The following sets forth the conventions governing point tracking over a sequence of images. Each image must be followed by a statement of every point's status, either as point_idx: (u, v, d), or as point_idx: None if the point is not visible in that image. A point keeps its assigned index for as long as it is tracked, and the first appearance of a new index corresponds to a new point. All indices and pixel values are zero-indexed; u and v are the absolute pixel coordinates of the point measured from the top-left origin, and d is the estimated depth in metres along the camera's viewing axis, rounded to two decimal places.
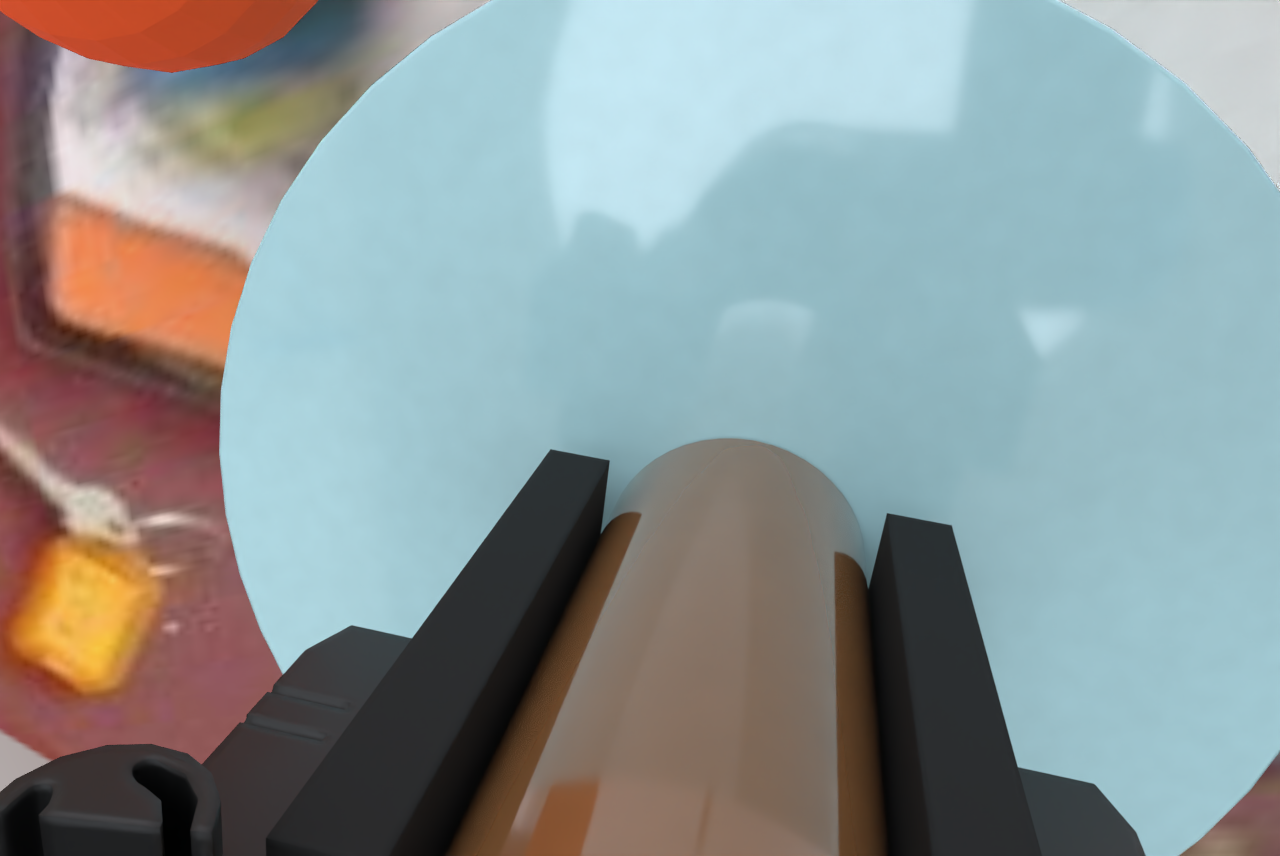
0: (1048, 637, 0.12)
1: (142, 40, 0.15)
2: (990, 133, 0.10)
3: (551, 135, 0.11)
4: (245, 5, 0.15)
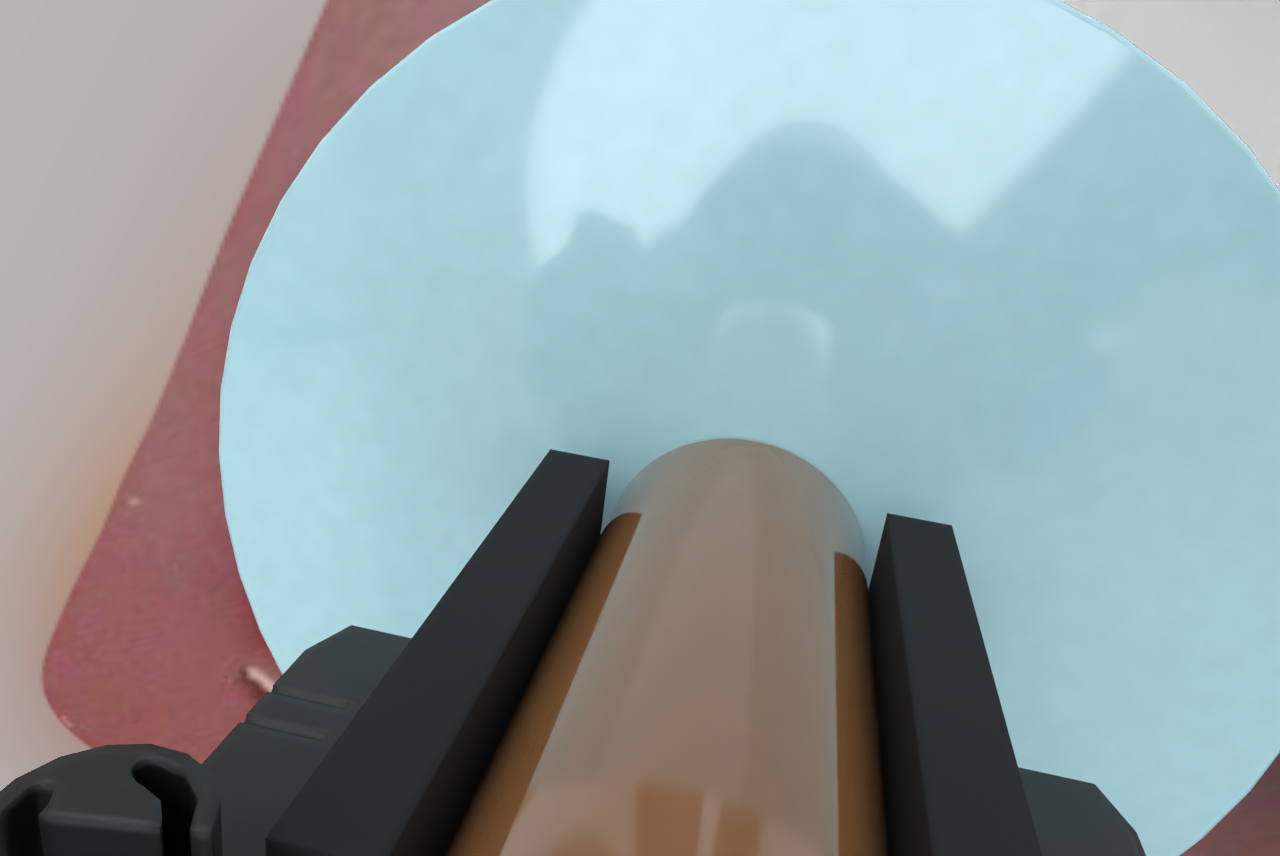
0: (1048, 637, 0.12)
1: None
2: (990, 133, 0.10)
3: (551, 135, 0.11)
4: None
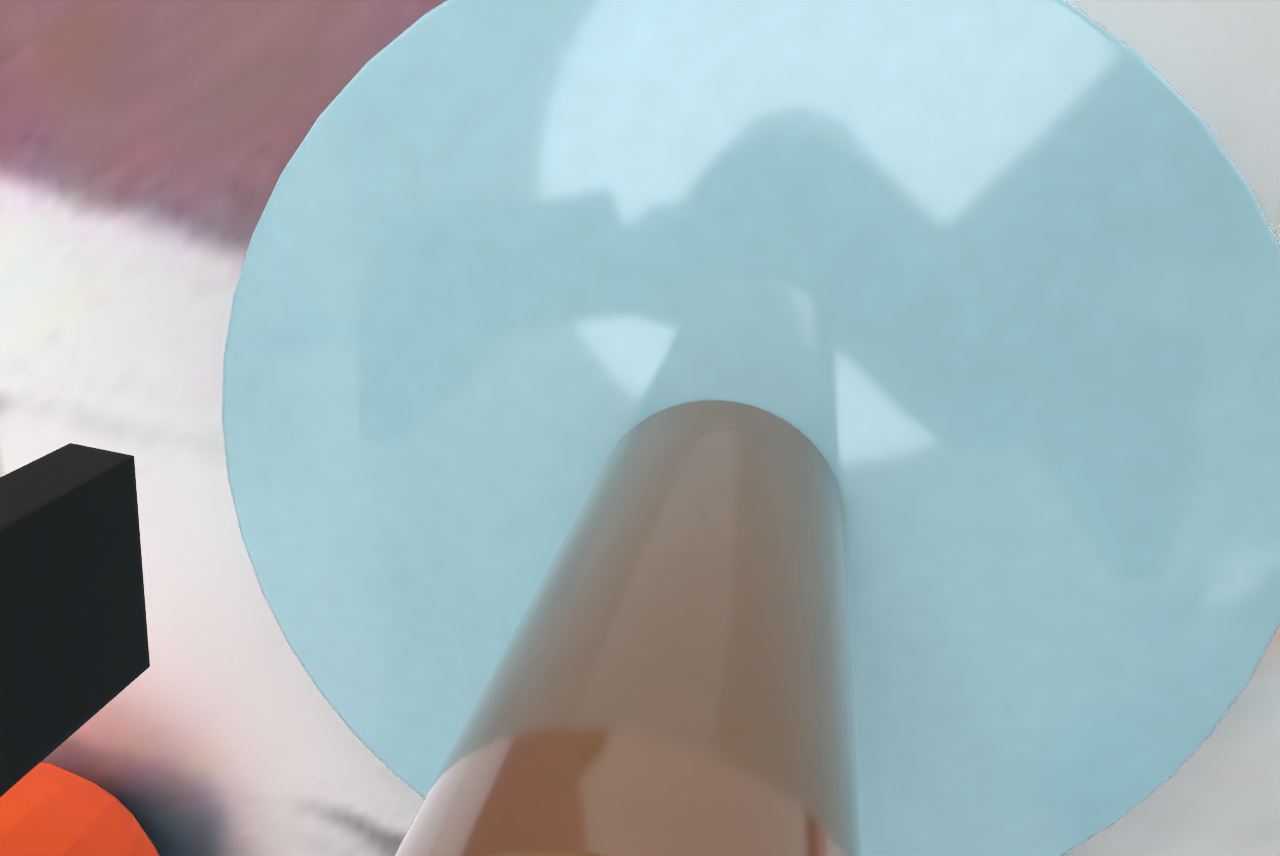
0: (1017, 589, 0.13)
1: None
2: (957, 104, 0.11)
3: (540, 108, 0.12)
4: None
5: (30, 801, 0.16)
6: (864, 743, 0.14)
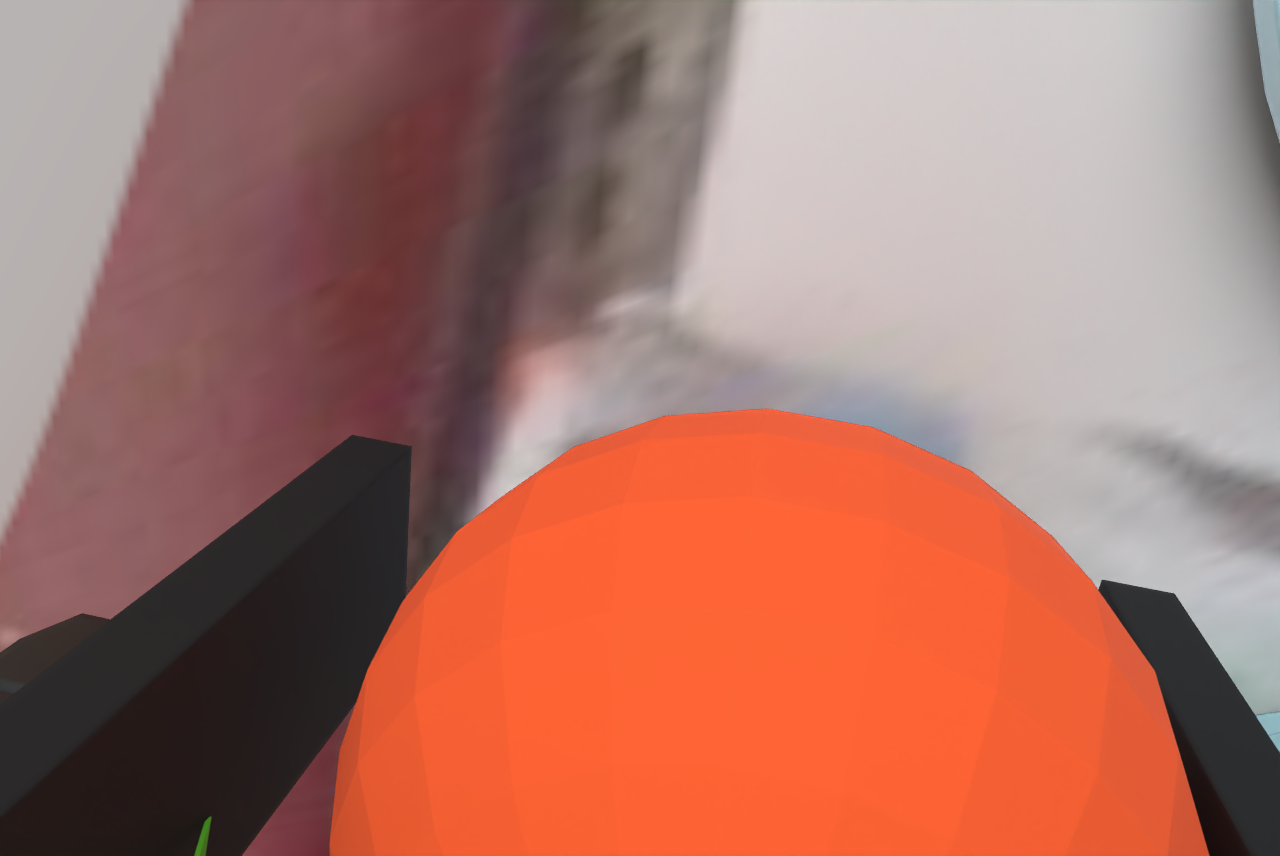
0: None
1: None
2: None
3: None
4: None
5: None
6: None
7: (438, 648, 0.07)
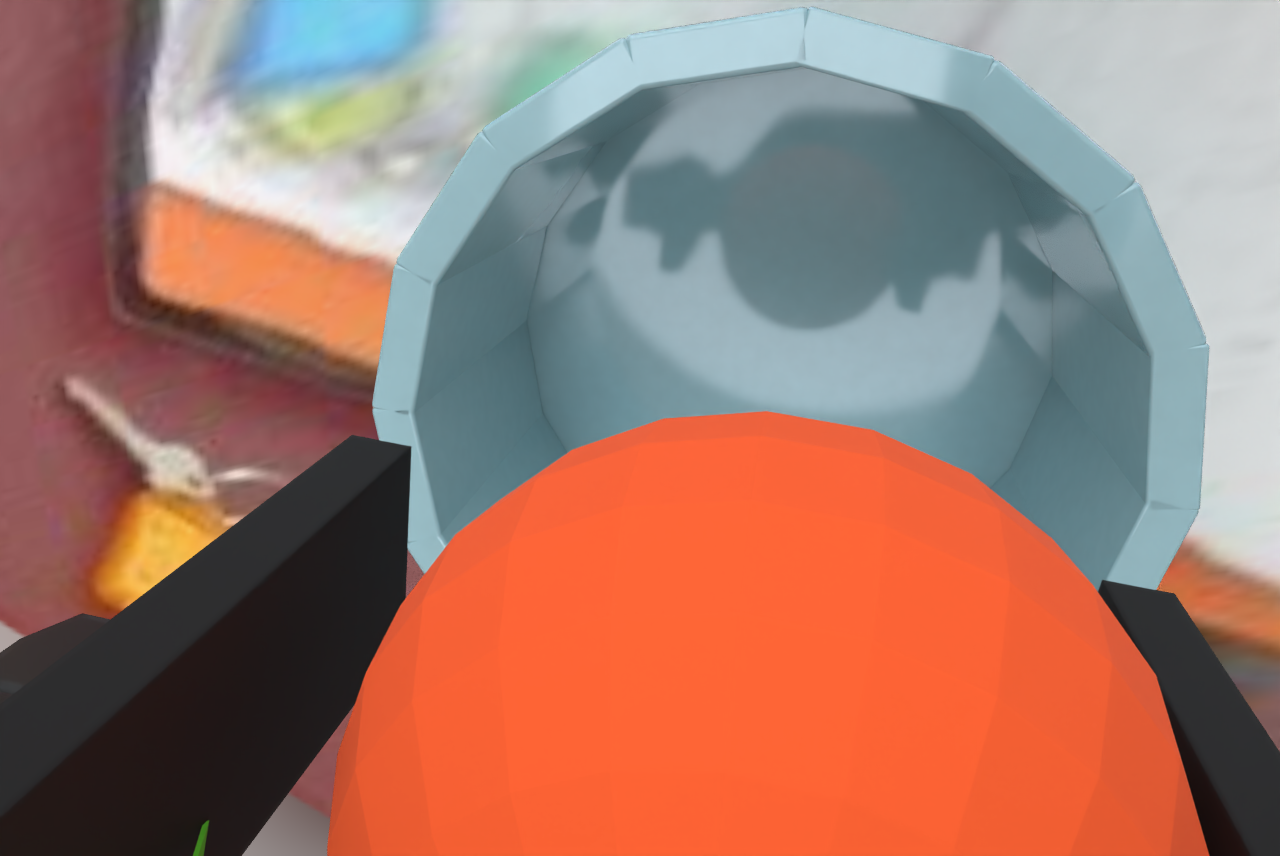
0: None
1: None
2: None
3: None
4: None
5: None
6: None
7: (434, 652, 0.07)
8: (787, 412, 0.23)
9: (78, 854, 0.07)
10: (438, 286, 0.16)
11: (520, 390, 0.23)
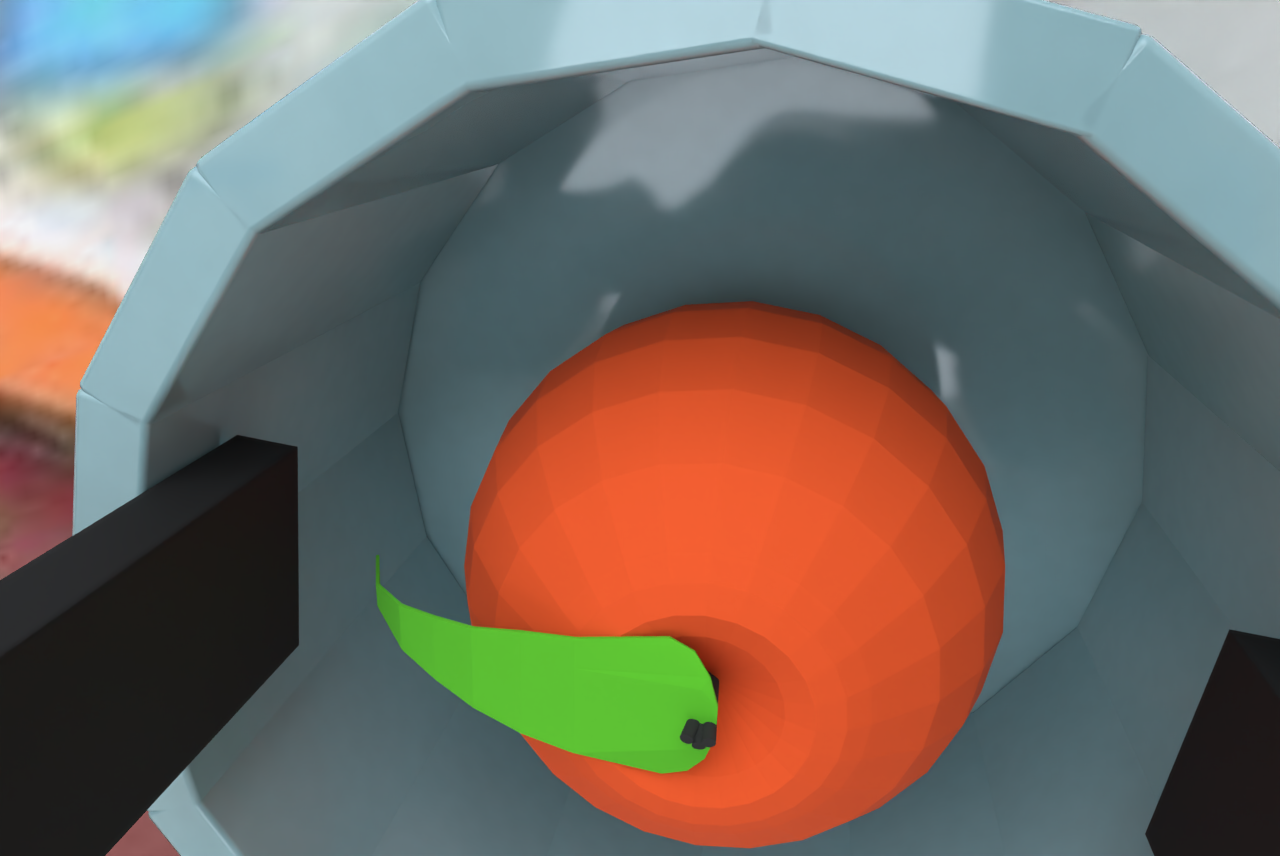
0: None
1: None
2: None
3: None
4: None
5: None
6: None
7: (549, 422, 0.11)
8: None
9: None
10: (155, 425, 0.10)
11: (383, 516, 0.16)
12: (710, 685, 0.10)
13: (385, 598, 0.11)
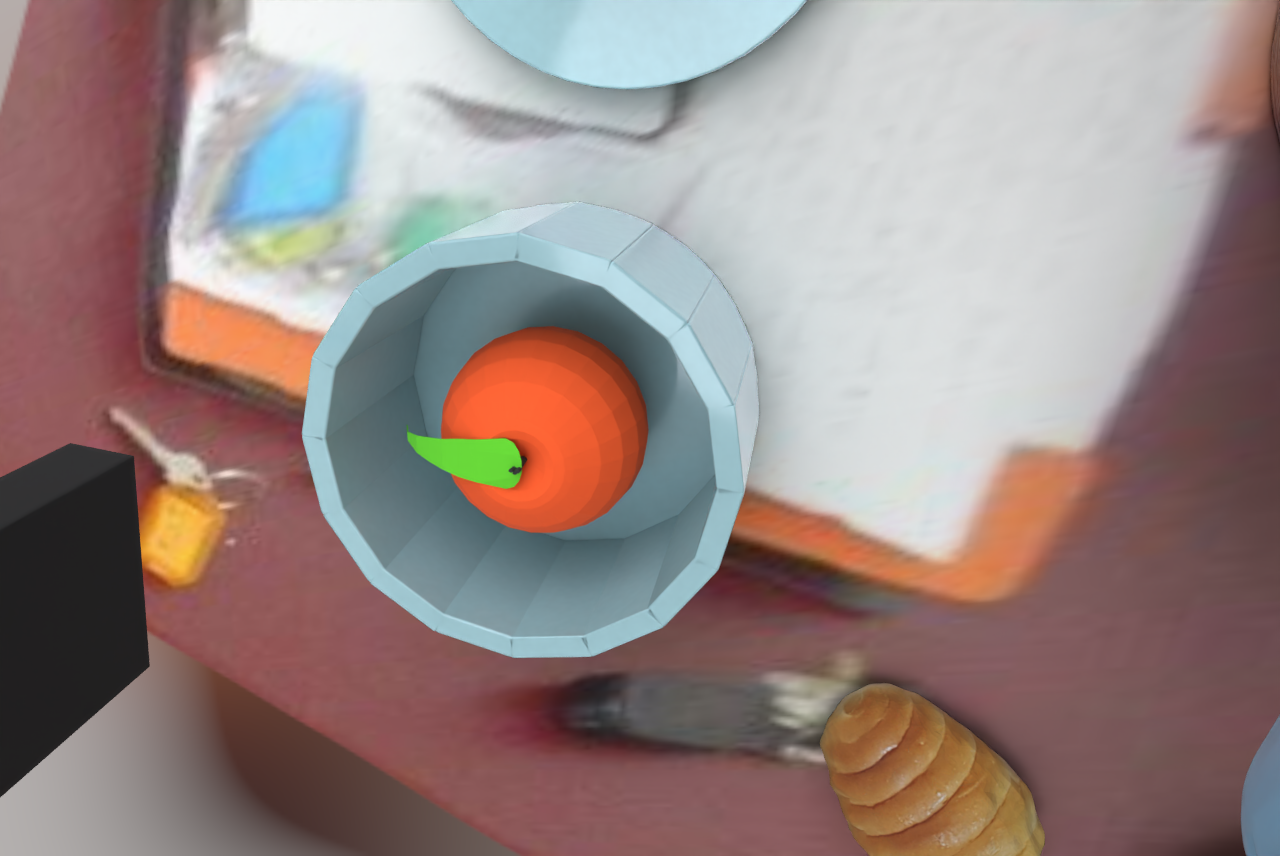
0: None
1: None
2: None
3: None
4: (600, 516, 0.32)
5: None
6: None
7: (470, 370, 0.30)
8: None
9: None
10: (336, 368, 0.29)
11: (407, 420, 0.35)
12: (518, 454, 0.29)
13: (411, 435, 0.31)
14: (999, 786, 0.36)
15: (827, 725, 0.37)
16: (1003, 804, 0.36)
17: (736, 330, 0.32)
